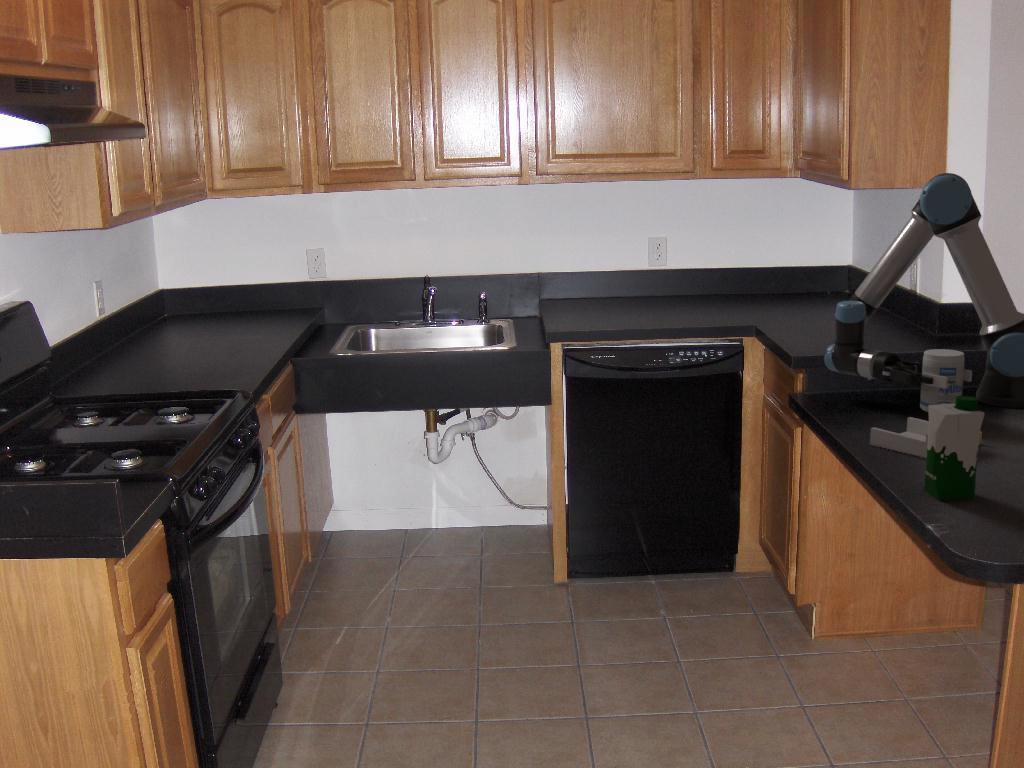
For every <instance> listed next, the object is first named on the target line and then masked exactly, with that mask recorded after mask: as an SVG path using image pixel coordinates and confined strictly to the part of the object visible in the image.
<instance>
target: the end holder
mask: <svg viewBox="0 0 1024 768" xmlns="http://www.w3.org/2000/svg"><path fill="white" fill-rule="evenodd" d="M906 421H907V422H906V431H904V432H901V433H898V432H894V431H891V430H888V429H887V430H885V429H883V428H879V427H875V426H874V427H871V428H870V436H869V445H870V446H874V447H878V448H880V447H882V448H881V449H884V448H886V449H885V450H888V449H890V450H889V451H892V450H895V451H898V452H897V453H899V452H902V453H901V454H903V453H907V454H912V455H916V456H920V457H924V458H927V446H928V432H929V420H925V419H921V418H915V417H911V416H909V417H907V420H906ZM895 451H894V452H895ZM907 454H906V455H907Z"/></svg>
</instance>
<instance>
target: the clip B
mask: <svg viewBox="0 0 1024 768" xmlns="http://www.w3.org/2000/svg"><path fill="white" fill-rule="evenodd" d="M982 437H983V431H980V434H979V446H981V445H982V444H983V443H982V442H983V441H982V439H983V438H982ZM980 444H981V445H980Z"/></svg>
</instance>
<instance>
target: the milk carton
mask: <svg viewBox="0 0 1024 768" xmlns="http://www.w3.org/2000/svg"><path fill="white" fill-rule="evenodd" d="M978 403H979V401H978V398H976V396H972V395H962V396H957V397H956V404H940V405H928V406H929V412H928V421H929V432H928V446H927V459H925V460H926V461H925V474H924V486H923V489H925V490H924V491H925V492H927V491H928V492H929V494H930V493H931V494H930V495H931V496H933V498H935V499H937V501H940V502H948V501H969V500H975V495H976V480H977V479H976V477H977V467H978V465H977V464H978V455H979V446H980V445H979V434H980V432H981V427H982V424H983V422H984V421H983V420H984V417H985V412H984V411H982V410H981V409H980V408H979V407H978ZM978 445H979V446H978ZM928 492H927V493H928Z"/></svg>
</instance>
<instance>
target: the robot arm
mask: <svg viewBox="0 0 1024 768" xmlns="http://www.w3.org/2000/svg"><path fill="white" fill-rule="evenodd" d="M981 219H982V214H981V212H980V209H979V207H978V205H977V203H976V201H975V198H974V196H973V193H972V189H971V187H970V186H969V183H968V182H967V181H966V180H965V178H963V177H962V176H960V175H959V174H956V173H953V172H945V173H940V174H938V175H936V176H933V177H932V178H930V179H929V180H928V181H927V182H926V184H925V185H924V186H923V188H922V190H921V192H920V195H919V199H918V200H917V202H916V203H915V205H914V206H913V207H912V209H911V217H910V218H909V219H908V221H907V222H906V223H905V224H904V226H903V228H901V230H900V231H899V233H898V234H897V236H896V237H894V240H893V241H892V242H891V244H889V246H888V248H887V249H886V250H884V251H885V252H884V253H883V254H882V256H881V257H879V260H878V261H877V262H876V264H875V265H874V266H873V267H872V269H871V270H870V272H869V273H868V274H867V275H866V276H865V278H864V279H863V281H862V282H861V283H860V285H859V286H858V288H856V290H855V291H854V293H853V295H851V297H850V298H849V299H848V300H843V301H839V302H837V304H836V309H835V314H834V315H835V316H834V317H835V336H834V337H835V338H834V339H835V340H834V343H833V344H831V345H830V344H829V346H828V347H827V349H826V350H825V351H826V353H825V354H824V364H825V367H827V369H828V370H830V371H833V372H837V373H839V374H843V375H844V374H845V375H849V376H851V375H852V376H856V377H862V378H863V377H864V378H867V381H868V380H869V381H871V380H872V379H873V380H877V381H881V382H882V381H883V382H886V383H890V382H891V383H892V382H893V381H896V382H899V383H903V384H907V385H910V386H912V385H914V384H915V385H914V386H915V388H921V384H923V385H929V386H934V387H939V388H945V389H946V388H947V384H948V377H944V376H938V375H933V374H927V373H922V366H923V361H919V360H912V361H909V360H902V361H901V359H900V357H899V356H898V354H896V353H894V352H887V351H882V350H879V349H876V350H875V349H871V348H865V336H866V335H865V332H866V331H865V330H866V325H867V323H868V322H869V320H871V318H872V317H873V315H874V314H875V313H876V311H877V310H878V308H879V307H880V306H881V305H882V303H883V302H884V301H885V299H886V298H887V297H888V296H889V294H890V293H891V291H893V289H894V288H895V286H896V285H897V284H898V282H899V281H900V280H901V278H902V277H903V276H904V275H905V273H906V272H907V271H908V269H909V268H910V267H911V266H912V265H913V263H914V262H915V261H916V259H917V258H918V257H919V255H920V254H921V253H922V251H924V249H925V247H927V245H928V243H930V242H931V240H932V238H934V237H937V238H939V239H942V240H943V241H944V243H945V245H946V247H947V249H948V252H949V254H950V255H951V258H952V261H953V262H954V265H955V267H956V269H957V271H958V274H959V276H960V278H961V280H962V283H963V285H964V287H965V289H966V292H967V294H968V296H969V298H970V301H971V303H972V304H973V306H974V307H973V308H974V309H975V310H976V311H975V312H976V313H977V316H978V318H979V320H980V323H981V328H980V330H979V337H980V338H981V340H982V343H983V344H984V347H985V349H986V352H987V353H986V363H985V372H984V375H983V377H982V379H981V382H980V384H979V387H978V388H977V389H976V393H975V394H976V395H975V397H976V398H978V402H979V401H980V403H981V402H982V404H984V403H985V405H987V406H988V405H989V406H993V407H1001V408H1009V409H1011V408H1012V409H1013V408H1014V409H1024V313H1023V312H1020V311H1018V309H1017V307H1016V305H1015V302H1014V301H1013V298H1012V296H1011V294H1010V292H1009V290H1008V287H1007V284H1006V283H1005V281H1004V279H1003V276H1002V274H1001V272H1000V270H999V267H998V265H997V263H996V261H995V259H994V256H993V254H992V252H991V249H990V248H989V245H988V243H987V241H986V239H985V236H984V234H983V231H982V230H981V228H980V225H979V222H980V221H981ZM972 377H973V370H970V369H965V368H964V375H963V382H969V383H970V382H972Z"/></svg>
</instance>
